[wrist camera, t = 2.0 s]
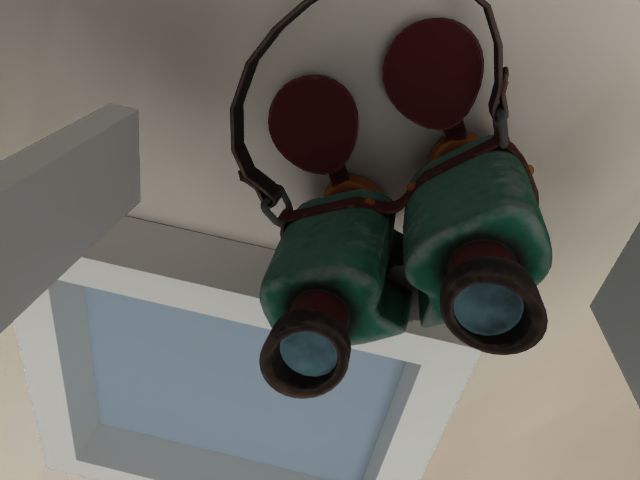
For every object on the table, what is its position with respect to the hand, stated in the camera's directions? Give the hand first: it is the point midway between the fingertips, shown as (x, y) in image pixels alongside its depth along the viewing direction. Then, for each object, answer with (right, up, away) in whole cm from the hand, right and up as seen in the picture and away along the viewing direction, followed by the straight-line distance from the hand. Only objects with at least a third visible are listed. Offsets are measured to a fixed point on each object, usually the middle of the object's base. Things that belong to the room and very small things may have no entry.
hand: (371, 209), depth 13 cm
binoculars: (+1, +4, +6) cm, 7 cm away
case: (-6, -8, +14) cm, 17 cm away
